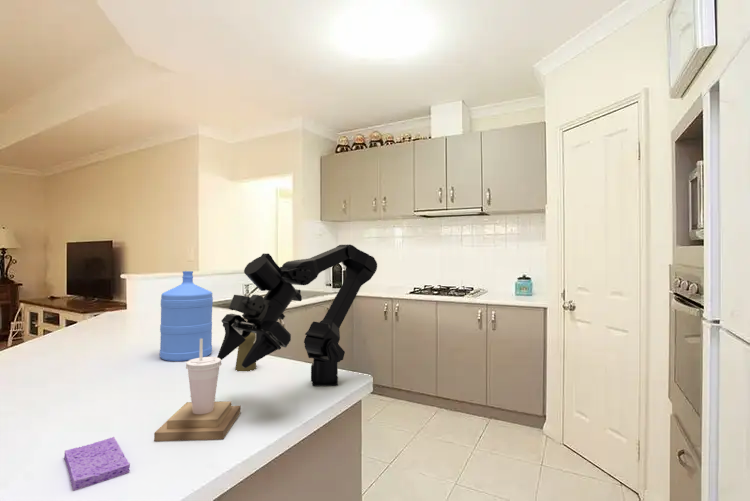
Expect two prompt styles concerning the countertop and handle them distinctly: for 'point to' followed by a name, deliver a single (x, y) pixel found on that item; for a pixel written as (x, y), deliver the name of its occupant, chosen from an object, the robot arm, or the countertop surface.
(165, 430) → the walnut base
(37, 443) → the countertop surface
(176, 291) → the water jug
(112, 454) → the sponges
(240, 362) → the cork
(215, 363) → the smoothie
